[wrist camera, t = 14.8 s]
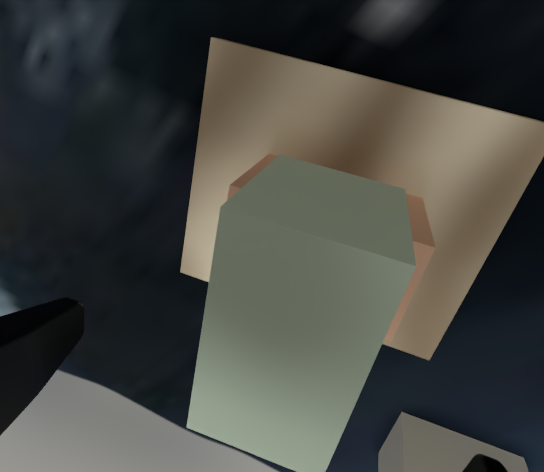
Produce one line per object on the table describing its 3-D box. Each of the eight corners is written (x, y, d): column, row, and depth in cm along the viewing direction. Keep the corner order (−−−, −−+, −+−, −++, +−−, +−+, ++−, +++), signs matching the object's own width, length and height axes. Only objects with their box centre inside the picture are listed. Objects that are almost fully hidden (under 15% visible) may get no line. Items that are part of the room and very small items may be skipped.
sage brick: (279, 154, 12) (220, 206, 8) (405, 189, 12) (416, 266, 7) (243, 322, 15) (186, 427, 11) (340, 357, 15) (321, 481, 10)
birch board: (549, 123, 15) (559, 127, 14) (427, 347, 21) (429, 360, 20) (220, 38, 17) (210, 37, 16) (188, 263, 23) (180, 272, 22)
